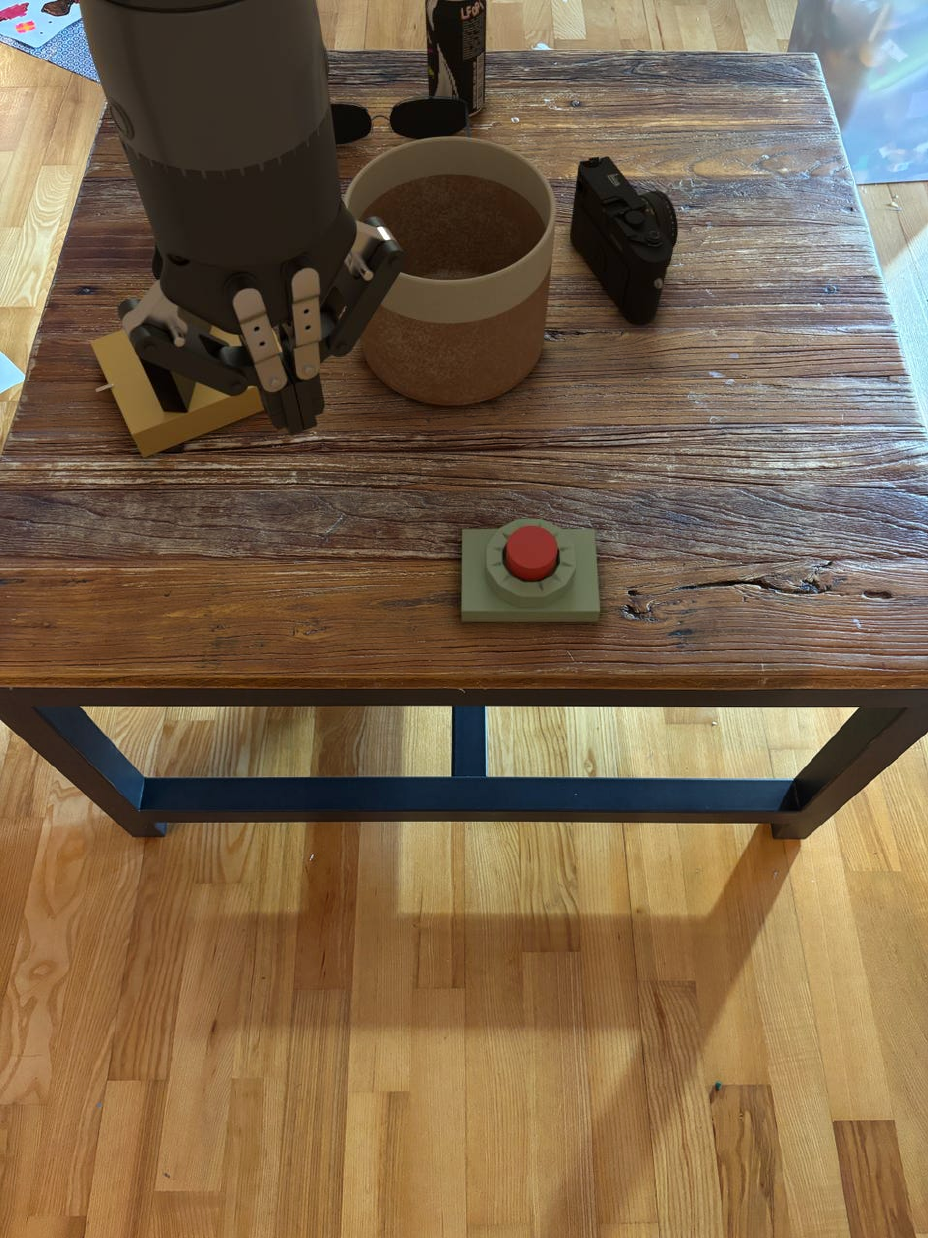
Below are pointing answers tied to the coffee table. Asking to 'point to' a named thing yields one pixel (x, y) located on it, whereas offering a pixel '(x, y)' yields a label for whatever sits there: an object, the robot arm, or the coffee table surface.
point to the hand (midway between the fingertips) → (296, 419)
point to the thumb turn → (173, 377)
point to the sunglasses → (403, 119)
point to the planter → (458, 267)
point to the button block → (518, 600)
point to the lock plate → (144, 409)
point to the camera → (623, 237)
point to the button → (531, 552)
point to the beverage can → (457, 50)
